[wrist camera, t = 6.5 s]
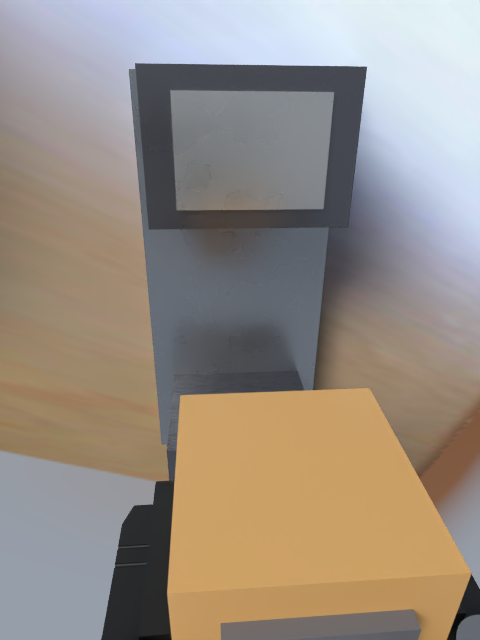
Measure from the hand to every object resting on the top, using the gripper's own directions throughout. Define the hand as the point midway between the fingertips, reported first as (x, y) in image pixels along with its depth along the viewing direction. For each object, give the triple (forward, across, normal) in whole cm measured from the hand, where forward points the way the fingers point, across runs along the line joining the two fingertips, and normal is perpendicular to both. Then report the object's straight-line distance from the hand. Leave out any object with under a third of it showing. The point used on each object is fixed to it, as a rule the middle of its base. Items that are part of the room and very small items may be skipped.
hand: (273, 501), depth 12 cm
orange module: (+1, 0, 0) cm, 1 cm away
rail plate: (+16, 0, 0) cm, 16 cm away
